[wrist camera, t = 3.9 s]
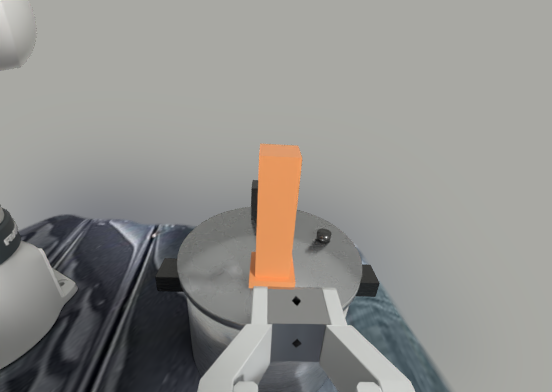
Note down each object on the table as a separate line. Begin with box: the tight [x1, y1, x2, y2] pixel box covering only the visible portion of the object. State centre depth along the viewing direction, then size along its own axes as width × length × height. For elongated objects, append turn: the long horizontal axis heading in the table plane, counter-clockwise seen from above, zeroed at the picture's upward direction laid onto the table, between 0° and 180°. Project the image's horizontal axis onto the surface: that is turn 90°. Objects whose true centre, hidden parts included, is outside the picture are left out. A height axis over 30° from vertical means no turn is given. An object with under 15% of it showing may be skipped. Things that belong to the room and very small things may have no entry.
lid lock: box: [249, 144, 302, 288], centre depth 23 cm, size 4×4×12 cm
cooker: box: [155, 180, 379, 392], centre depth 31 cm, size 19×24×17 cm
